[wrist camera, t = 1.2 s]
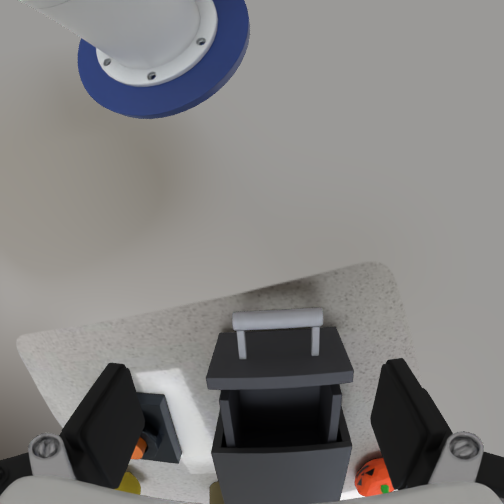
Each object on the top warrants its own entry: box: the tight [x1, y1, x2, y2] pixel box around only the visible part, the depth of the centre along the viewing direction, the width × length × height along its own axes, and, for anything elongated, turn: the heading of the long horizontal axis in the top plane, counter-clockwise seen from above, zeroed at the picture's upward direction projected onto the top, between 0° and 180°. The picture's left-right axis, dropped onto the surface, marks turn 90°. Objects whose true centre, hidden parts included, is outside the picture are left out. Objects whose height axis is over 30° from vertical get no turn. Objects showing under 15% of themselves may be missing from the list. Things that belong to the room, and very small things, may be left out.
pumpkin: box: [355, 458, 395, 497], centre depth 33 cm, size 7×8×6 cm
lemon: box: [114, 472, 141, 495], centre depth 35 cm, size 6×6×8 cm
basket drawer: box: [206, 307, 354, 448], centre depth 28 cm, size 18×11×8 cm, turn 4°
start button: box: [131, 437, 147, 459], centre depth 31 cm, size 4×4×2 cm
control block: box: [136, 392, 182, 464], centre depth 34 cm, size 11×9×4 cm
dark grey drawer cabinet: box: [211, 407, 352, 504], centre depth 30 cm, size 15×13×10 cm
